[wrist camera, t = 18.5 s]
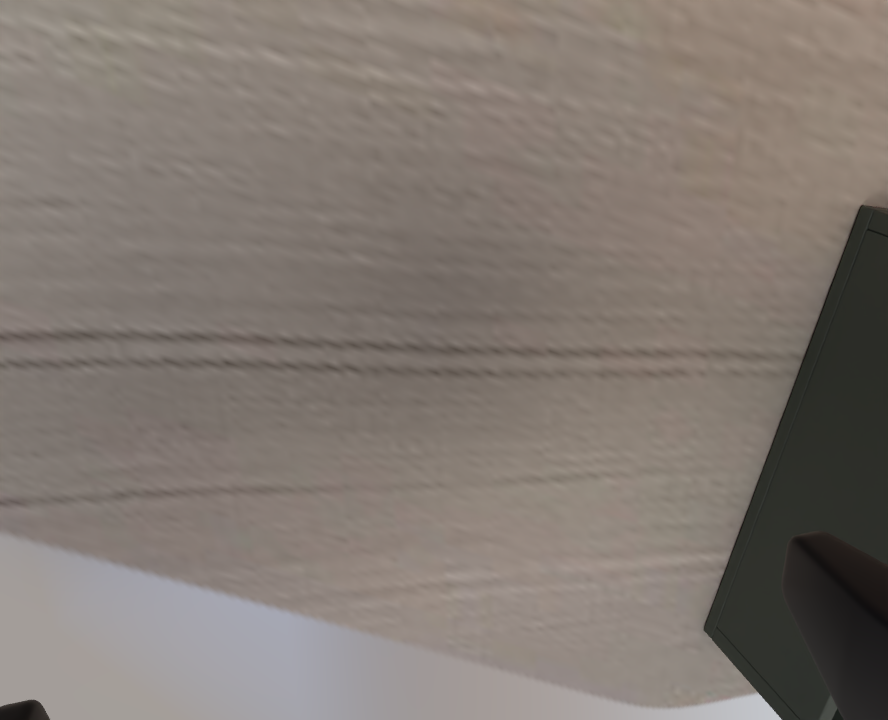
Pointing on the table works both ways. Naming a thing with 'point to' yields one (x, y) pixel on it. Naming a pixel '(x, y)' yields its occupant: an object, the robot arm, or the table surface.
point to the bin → (816, 480)
